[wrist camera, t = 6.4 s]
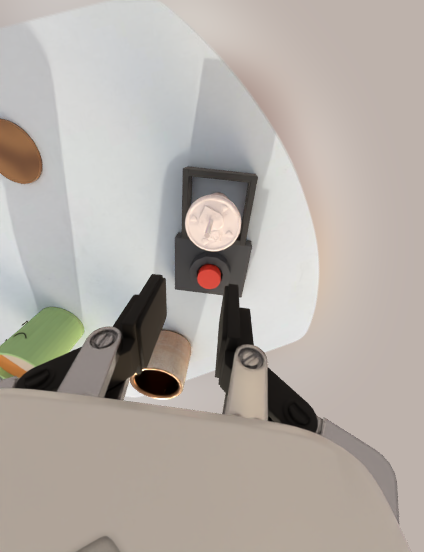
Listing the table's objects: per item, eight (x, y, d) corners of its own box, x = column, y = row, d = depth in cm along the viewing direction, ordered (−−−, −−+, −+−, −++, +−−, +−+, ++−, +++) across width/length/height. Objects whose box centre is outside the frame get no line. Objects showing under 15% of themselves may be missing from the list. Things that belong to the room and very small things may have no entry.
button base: (178, 232, 35) (172, 241, 31) (251, 240, 34) (253, 251, 31) (177, 282, 40) (172, 295, 37) (240, 290, 40) (241, 304, 36)
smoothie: (232, 175, 30) (232, 196, 18) (243, 219, 33) (250, 261, 21) (190, 191, 31) (164, 219, 19) (205, 231, 34) (190, 276, 22)
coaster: (-28, 115, 28) (-32, 115, 28) (30, 122, 28) (27, 121, 28) (-2, 180, 33) (-5, 180, 32) (49, 186, 32) (47, 186, 32)
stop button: (199, 262, 33) (197, 268, 32) (222, 265, 33) (221, 271, 32) (198, 281, 35) (196, 287, 34) (219, 284, 35) (219, 290, 34)
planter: (191, 362, 52) (183, 402, 44) (148, 357, 53) (132, 396, 44) (192, 331, 46) (183, 370, 38) (143, 326, 47) (124, 363, 39)
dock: (187, 166, 29) (182, 168, 27) (255, 173, 29) (257, 176, 27) (185, 231, 35) (181, 238, 32) (243, 238, 34) (244, 246, 32)
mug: (57, 299, 45) (5, 344, 35) (92, 331, 49) (56, 380, 39) (22, 318, 49) (-34, 363, 39) (58, 346, 53) (17, 394, 43)
